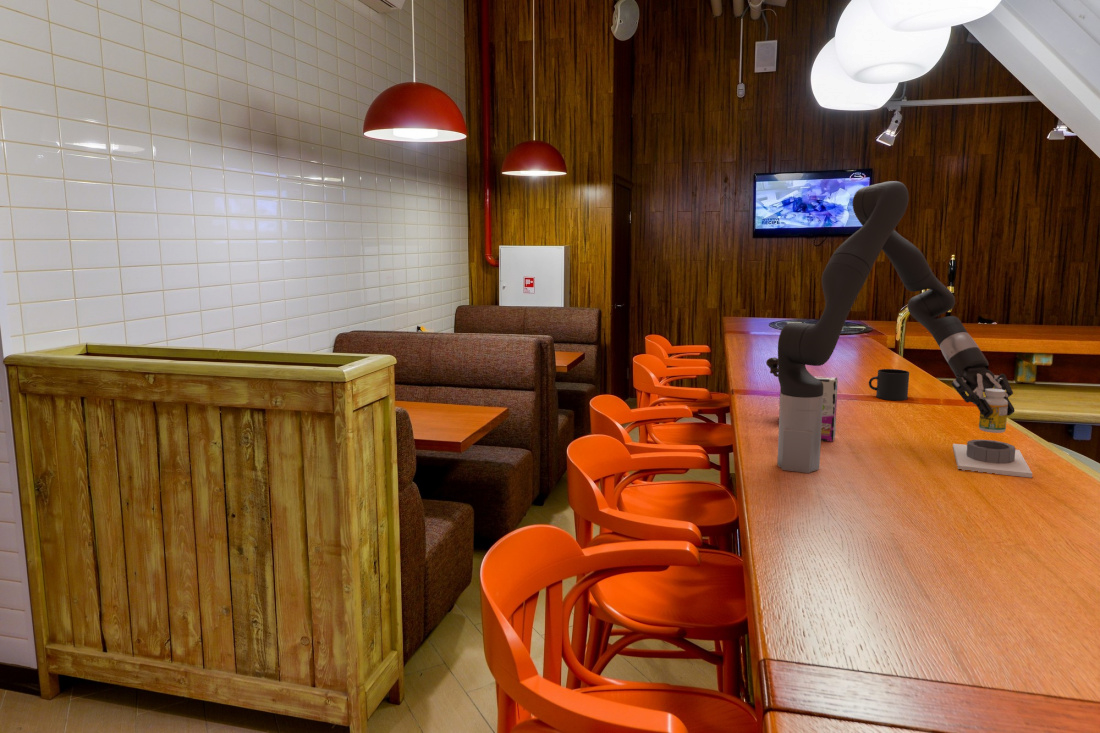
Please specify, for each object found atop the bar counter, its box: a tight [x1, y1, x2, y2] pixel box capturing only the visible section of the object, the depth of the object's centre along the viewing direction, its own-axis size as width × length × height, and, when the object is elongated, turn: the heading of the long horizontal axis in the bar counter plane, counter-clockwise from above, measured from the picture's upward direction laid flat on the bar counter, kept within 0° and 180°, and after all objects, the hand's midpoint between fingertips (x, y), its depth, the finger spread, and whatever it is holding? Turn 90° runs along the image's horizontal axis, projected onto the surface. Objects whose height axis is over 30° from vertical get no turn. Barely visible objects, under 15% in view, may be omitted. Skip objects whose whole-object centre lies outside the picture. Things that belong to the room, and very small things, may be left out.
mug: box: [868, 368, 910, 402], centre depth 238 cm, size 9×12×9 cm
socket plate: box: [952, 439, 1033, 478], centre depth 167 cm, size 20×14×4 cm
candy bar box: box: [813, 375, 839, 443], centre depth 189 cm, size 11×5×16 cm, turn 62°
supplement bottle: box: [978, 387, 1008, 434], centre depth 166 cm, size 5×5×10 cm
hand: (1000, 414), depth 164 cm, fingers closed on supplement bottle, 5 cm apart
